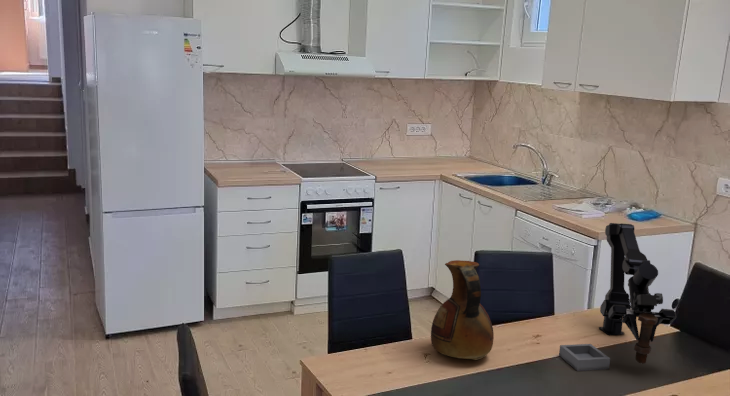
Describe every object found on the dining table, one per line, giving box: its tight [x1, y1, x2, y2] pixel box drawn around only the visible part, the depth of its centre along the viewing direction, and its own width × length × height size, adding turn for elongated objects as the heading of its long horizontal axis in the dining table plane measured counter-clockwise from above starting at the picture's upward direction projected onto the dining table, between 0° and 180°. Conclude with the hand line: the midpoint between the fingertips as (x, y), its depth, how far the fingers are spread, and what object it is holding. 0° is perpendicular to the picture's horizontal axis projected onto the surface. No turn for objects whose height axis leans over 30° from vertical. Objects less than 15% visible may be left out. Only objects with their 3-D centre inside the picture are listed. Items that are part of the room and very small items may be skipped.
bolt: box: [633, 313, 658, 365], centre depth 199 cm, size 6×5×15 cm
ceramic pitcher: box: [430, 259, 495, 361], centre depth 204 cm, size 20×20×30 cm
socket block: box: [558, 343, 611, 372], centre depth 206 cm, size 11×11×4 cm
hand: (644, 340), depth 197 cm, fingers closed on bolt, 4 cm apart
